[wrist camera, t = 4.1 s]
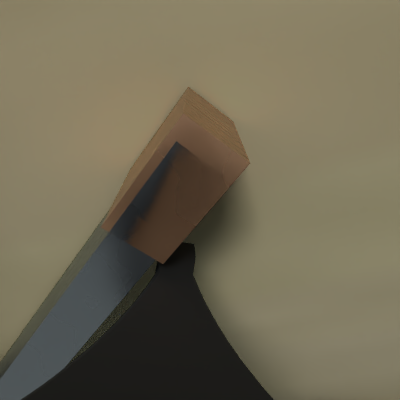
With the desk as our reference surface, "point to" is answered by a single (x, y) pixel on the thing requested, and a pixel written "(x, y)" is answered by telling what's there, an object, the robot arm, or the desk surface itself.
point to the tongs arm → (130, 238)
